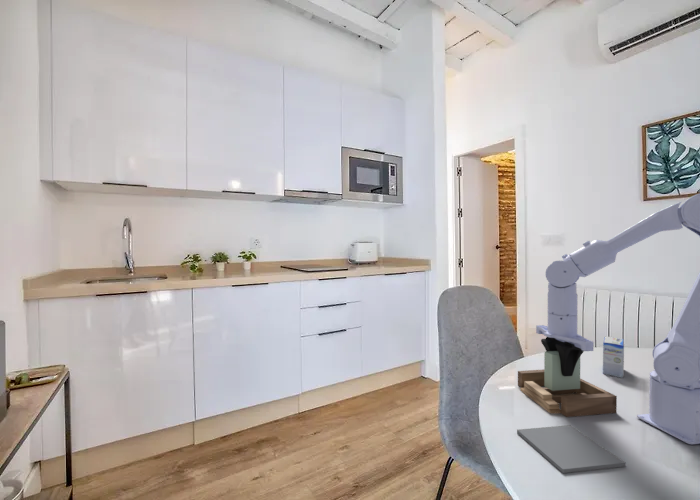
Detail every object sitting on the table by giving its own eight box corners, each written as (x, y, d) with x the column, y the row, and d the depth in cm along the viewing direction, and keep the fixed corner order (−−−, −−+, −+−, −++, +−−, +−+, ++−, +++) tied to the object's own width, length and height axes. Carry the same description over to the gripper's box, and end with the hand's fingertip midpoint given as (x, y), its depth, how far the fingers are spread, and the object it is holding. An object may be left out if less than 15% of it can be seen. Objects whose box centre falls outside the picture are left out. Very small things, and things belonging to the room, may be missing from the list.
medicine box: (603, 365, 96) (604, 335, 96) (623, 369, 93) (624, 338, 93) (602, 374, 90) (602, 342, 89) (623, 378, 87) (624, 345, 87)
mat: (625, 466, 52) (625, 462, 52) (562, 473, 51) (562, 469, 51) (570, 428, 63) (570, 425, 63) (517, 432, 62) (517, 429, 62)
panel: (580, 388, 75) (580, 353, 75) (552, 390, 74) (552, 354, 74) (571, 384, 77) (571, 350, 77) (544, 386, 76) (544, 351, 76)
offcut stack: (561, 414, 69) (561, 400, 69) (550, 415, 69) (550, 400, 69) (529, 391, 80) (529, 379, 80) (520, 391, 80) (520, 379, 80)
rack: (616, 412, 69) (616, 396, 69) (566, 417, 67) (566, 399, 67) (559, 382, 84) (559, 368, 84) (517, 385, 83) (517, 371, 83)
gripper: (525, 308, 82) (524, 362, 82) (572, 321, 68) (571, 387, 68) (550, 307, 83) (550, 361, 83) (602, 320, 69) (602, 385, 69)
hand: (562, 373), depth 76 cm, fingers closed on panel, 2 cm apart
